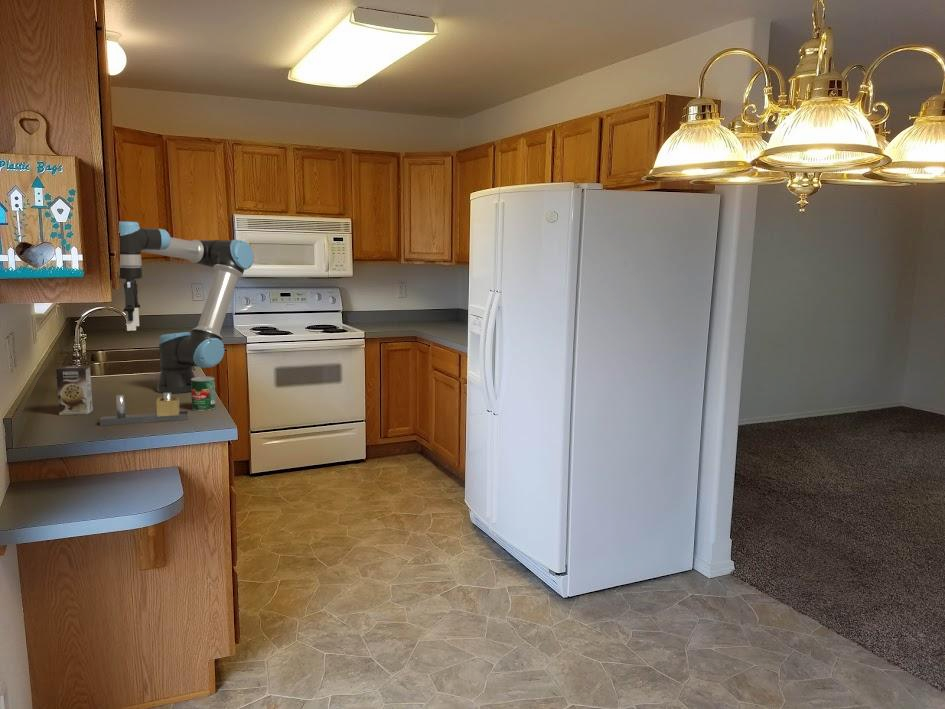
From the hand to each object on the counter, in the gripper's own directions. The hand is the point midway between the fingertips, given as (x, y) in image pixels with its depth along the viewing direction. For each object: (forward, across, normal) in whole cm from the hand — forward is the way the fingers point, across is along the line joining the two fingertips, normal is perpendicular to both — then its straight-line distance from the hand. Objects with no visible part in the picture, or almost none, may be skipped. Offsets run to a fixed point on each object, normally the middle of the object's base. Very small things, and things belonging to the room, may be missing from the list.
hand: (133, 328), depth 236 cm
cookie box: (+29, +1, -19) cm, 35 cm away
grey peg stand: (+28, +21, +4) cm, 36 cm away
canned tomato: (+29, +8, +22) cm, 37 cm away
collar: (+27, +21, +11) cm, 36 cm away
